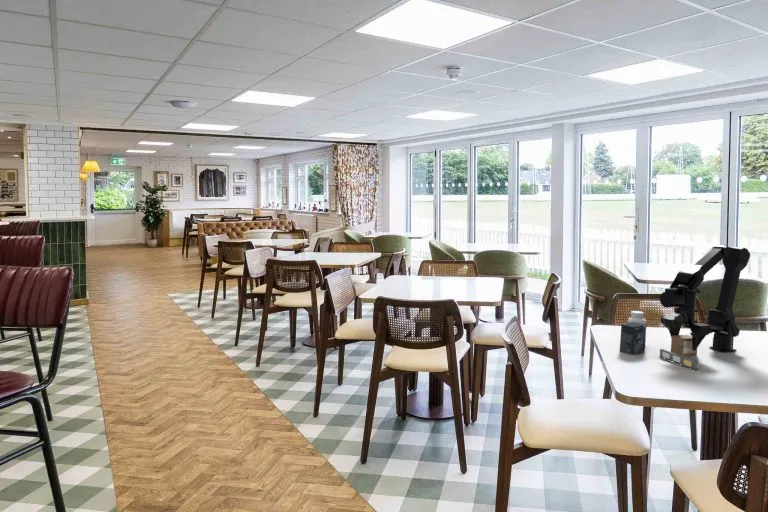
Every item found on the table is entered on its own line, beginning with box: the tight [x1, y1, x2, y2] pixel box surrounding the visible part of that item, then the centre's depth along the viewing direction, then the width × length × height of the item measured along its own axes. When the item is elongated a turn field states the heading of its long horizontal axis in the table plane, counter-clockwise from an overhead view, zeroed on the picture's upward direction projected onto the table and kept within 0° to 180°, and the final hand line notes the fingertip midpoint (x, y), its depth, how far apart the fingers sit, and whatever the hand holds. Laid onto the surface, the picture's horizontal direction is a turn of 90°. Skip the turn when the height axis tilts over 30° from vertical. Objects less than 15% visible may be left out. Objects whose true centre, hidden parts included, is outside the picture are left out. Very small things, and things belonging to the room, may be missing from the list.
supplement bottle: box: [627, 310, 647, 342], centre depth 224 cm, size 7×7×13 cm
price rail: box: [659, 348, 701, 371], centre depth 199 cm, size 16×3×3 cm, turn 15°
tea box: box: [670, 334, 698, 358], centre depth 209 cm, size 7×5×7 cm
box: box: [619, 322, 647, 355], centre depth 213 cm, size 8×6×11 cm
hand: (684, 347), depth 209 cm, fingers open, 9 cm apart
